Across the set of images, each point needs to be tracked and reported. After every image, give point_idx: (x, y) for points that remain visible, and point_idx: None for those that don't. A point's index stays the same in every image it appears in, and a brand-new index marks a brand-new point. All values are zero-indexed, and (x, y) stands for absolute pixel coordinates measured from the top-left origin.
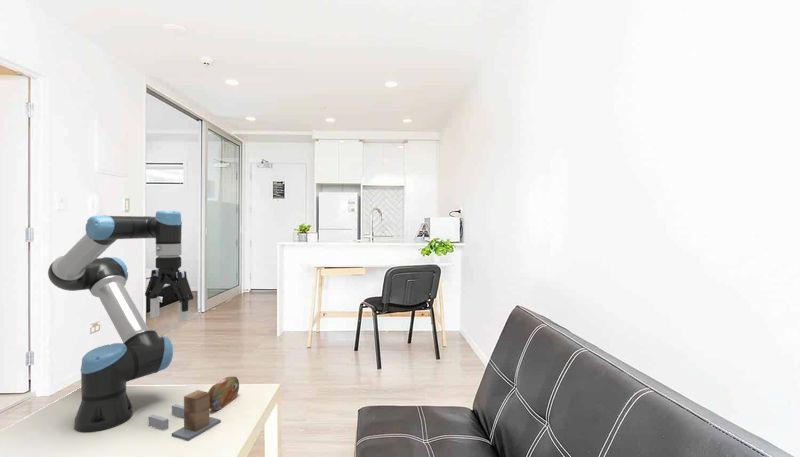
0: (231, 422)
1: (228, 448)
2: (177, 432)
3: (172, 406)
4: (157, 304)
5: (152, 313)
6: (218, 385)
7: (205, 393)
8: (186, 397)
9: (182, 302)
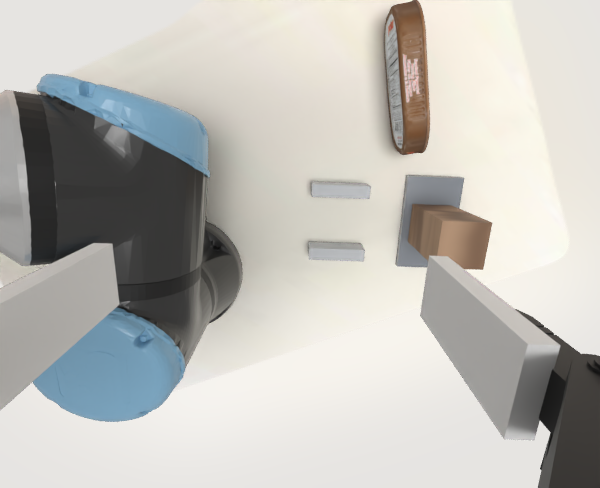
0: (488, 167)
1: (550, 257)
2: (407, 259)
3: (314, 196)
4: (40, 306)
5: (99, 316)
6: (427, 116)
7: (484, 231)
8: None
9: (547, 414)
